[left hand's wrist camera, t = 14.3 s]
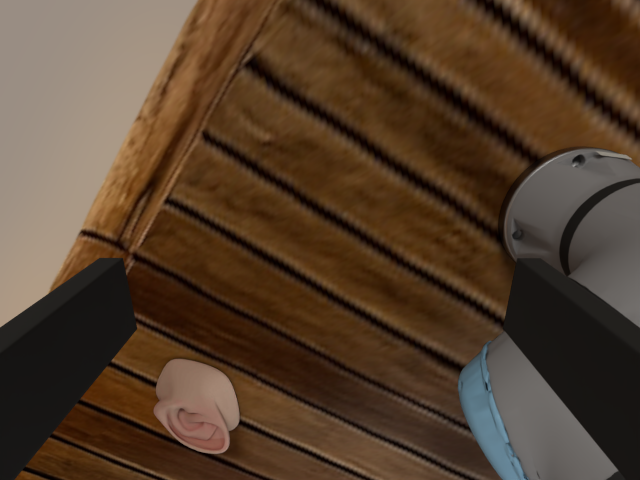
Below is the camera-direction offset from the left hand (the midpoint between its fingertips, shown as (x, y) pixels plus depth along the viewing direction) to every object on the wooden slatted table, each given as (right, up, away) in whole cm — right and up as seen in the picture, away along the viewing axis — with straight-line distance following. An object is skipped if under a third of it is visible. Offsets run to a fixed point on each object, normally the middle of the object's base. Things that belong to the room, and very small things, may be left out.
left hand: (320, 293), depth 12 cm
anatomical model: (-17, -20, +39) cm, 47 cm away
